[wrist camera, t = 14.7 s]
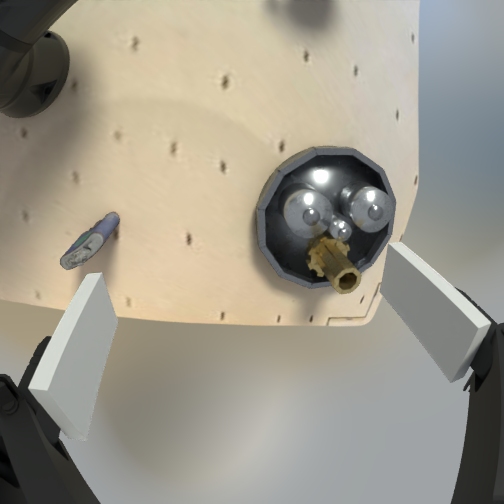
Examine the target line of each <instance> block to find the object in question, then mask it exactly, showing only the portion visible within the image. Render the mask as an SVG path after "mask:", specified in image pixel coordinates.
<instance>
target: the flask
mask: <svg viewBox="0 0 504 504" xmlns="http://www.w3.org/2000/svg"><path fill="white" fill-rule="evenodd" d="M119 220H120V218H119V215H118V214H117V213H116V212H111V213H109V214H107V215H106V216H105V217H104V218H103V219H102V220H101V221H99V222H97V223H96V224H95V225H94V227H93V228H90V230H89V231H86V232H85V233H83V234H82V235H81V236H80V237H79V238H78V239H77V241H76V242H75V243H74V244H73V245H72V246H71V247H70V248H69V250H68V251H67V252H66V253H65V254H64V255H63V256H62V257H61V259H60V265H61V266H62V267H63V268H64V269H66V270H70V269H73V268H75V267H77V266H82V265H83V263H85V262H86V261H87V260H88V259H90V258H91V257H92V256H93V255H94V254H95V253H96V252H97V251H98V250H99V249H100V248H101V247H102V246H103V244H104V243H105V241H106V240H107V238H108V237H109V235H110V234H111V233H112V231H113V230H114V229H115V227H116V226H117V225H118V223H119Z"/></svg>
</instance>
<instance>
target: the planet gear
mask: <svg viewBox="0 0 504 504" xmlns="http://www.w3.org/2000/svg"><path fill="white" fill-rule="evenodd" d="M316 237H317V240H316V241H315V242H314V243H313V244H312V245H308V247H307V249H306V252H307V253H308V254H309V255H308V259H307V260H305V261H306V263H307V266H308V267H309V269H310V270H311V269H315V271H314V272H315V273H316V275H317V276H320V277H323V275H324V274H325V276H326V277H327V279H328V280H329V282H330V283H331V285H332V286H333V288H334V289H335V290H336V291H337V292H339V293H340V294H347V293H351V292H353V291H354V290H355V289H356V288H357V287H358V286H359V284H360V281H361V273H360V272H359V271H358V270H357V268H356V267H355V266H354V265H353V264H352V263H351V261H350V260H349V259H348V258H347V251H349V250H350V248H349V245H348V244H347V243H346V242H345V241H344V242H339V241H337V240H336V239H335V238H334V237H333V236H325V235H324V234H323V233H322V234H320V235H319V236H316Z"/></svg>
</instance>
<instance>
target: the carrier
mask: <svg viewBox="0 0 504 504" xmlns="http://www.w3.org/2000/svg"><path fill="white" fill-rule="evenodd" d="M256 205H257V206H256V229H257V242H258V245H259V248H260V250H261V251H262V252H263V254H264V255H265V257H266V258H267V260H268V261H269V262H270V264H271V265H272V267H273V268H274V269H275V271H276V272H277V274H278V275H279V276H280V277H282V278H284V279H287V280H289V281H292V282H295V283H297V284H300V285H302V286H305V287H307V288H311V289H312V288H319V287H327V286H332V285H331V283H330V282H329V280H328V279H327V277H326V276H325V274H324V275H323V277H320V276H317V275H316V273H315V272H314V271H315V269H311V270H310V269H309V267H308V266H307V263H306V261H305V260H307V259H308V255H309V254H308V253H307V252H306V249H307V247H308V245H312V244H313V243H314V242H315V241H316V240H317V237H316V236H319V235H320V234H322V233H323V234H324V235H325V236H333V237H334V238H335V239H336V240H337V241H339V242H344V241H345V242H346V243H347V244H348V245H349V248H350V250H349V251H347V258H348V259H349V260H350V261H351V263H352V264H353V265H354V266H355V267H356V268H357V270H358V271H359V272H360V273H362V272H363V271H365V270H366V269H368V268H369V267H371V266H372V264H374V263H375V261H376V260H377V258H378V256H379V255H380V253H381V252H382V250H383V249H384V247H385V246H386V244H387V242H388V241H389V239H390V238H391V235H392V231H393V224H394V216H395V208H396V199H395V196H394V194H393V191H392V188H391V186H390V183H389V181H388V178H387V176H386V174H385V171H384V170H383V168H381V167H380V166H379V165H377V164H376V163H374V162H373V161H372V160H370V159H369V158H367V157H366V156H365V155H363V154H362V153H360V152H359V151H357V150H356V149H353V148H350V147H337V146H318V147H310V148H308V149H306V150H304V151H301V152H299V153H297V154H295V155H293V156H291V157H290V158H288V159H287V160H286V161H284V162H283V163H282V164H281V165H280V166H279V167H277V169H275V171H274V172H273V173H272V175H271V176H270V177H269V179H268V180H267V182H266V183H265V185H264V187H263V189H262V192H261V194H260V197H259V200H258V202H257V204H256Z"/></svg>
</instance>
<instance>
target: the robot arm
mask: <svg viewBox="0 0 504 504" xmlns="http://www.w3.org/2000/svg"><path fill="white" fill-rule="evenodd" d="M77 1H78V0H0V112H1V113H3V114H5V115H7V116H9V117H14V118H23V117H30V116H33V115H36V114H38V113H40V112H42V111H43V110H44V109H46V108H47V107H48V106H49V105H50V104H51V103H52V102H53V101H54V100H55V98H56V97H57V96H58V94H59V93H60V91H61V89H62V87H63V85H64V83H65V80H66V77H67V74H68V70H69V51H68V47H67V45H66V43H65V41H64V40H63V38H62V37H61V36H59V35H58V34H56V33H54V32H52V31H49V30H48V29H49V28H50V27H51V26H52V25H53V24H54V23H55V22H56V21H57V20H58V19H59V18H60V17H61V16H62V15H63V14H64V13H65V12H66V11H67V10H68V9H69V8H70V7H71V6H72V5H73V4H74V3H76V2H77ZM380 293H381V294H382V295H383V296H384V298H385V299H386V300H387V301H388V303H389V304H390V305H391V306H392V307H393V309H394V310H395V311H396V312H397V314H398V315H399V316H400V317H401V318H402V320H403V321H404V322H405V323H406V325H407V326H408V327H409V328H410V330H411V331H412V332H413V333H414V335H415V336H416V337H417V339H418V340H419V341H420V342H421V344H422V345H423V346H424V348H425V349H426V350H427V352H428V353H429V354H430V356H431V357H432V358H433V359H434V361H435V362H436V364H437V365H438V366H439V368H440V369H441V370H442V372H443V373H444V374H445V376H446V377H447V379H448V380H449V381H450V383H452V382H454V381H456V380H458V379H460V378H462V377H464V375H465V374H466V372H467V370H468V368H469V367H470V366H471V368H472V369H473V370H474V371H473V373H472V375H471V376H470V378H469V380H468V381H467V383H466V385H465V386H464V389H463V391H465V390H466V389H467V387H468V386H469V385H470V390H469V392H470V396H469V408H468V419H467V426H466V434H465V441H464V447H463V453H462V458H461V464H460V468H459V473H458V477H457V482H456V486H455V490H454V494H453V498H452V501H451V504H504V323H500V324H497V323H496V322H495V321H494V320H493V319H492V318H491V317H490V316H489V315H488V314H487V313H485V311H484V310H483V309H481V308H480V307H479V306H477V304H476V303H475V302H474V301H472V300H471V298H470V297H469V296H468V295H466V294H465V293H464V292H463V291H461V290H459V289H457V288H455V287H453V286H452V285H451V284H450V283H449V282H448V281H446V280H445V279H444V278H443V277H442V276H441V275H440V274H439V273H437V272H436V271H435V270H434V269H433V268H431V267H430V266H429V265H428V264H427V263H426V262H425V261H423V260H422V259H421V258H420V257H419V256H417V255H416V254H415V253H414V252H413V251H411V250H410V249H409V248H408V247H406V246H405V245H404V244H403V243H401V242H396V243H388V248H387V255H386V261H385V266H384V272H383V277H382V282H381V287H380ZM117 324H118V320H117V317H116V314H115V311H114V308H113V305H112V302H111V299H110V296H109V293H108V290H107V287H106V284H105V280H104V277H103V274H102V272H101V273H90V274H87V275H86V277H85V278H84V280H83V282H82V283H81V285H80V287H79V288H78V290H77V292H76V294H75V295H74V297H73V299H72V301H71V302H70V304H69V306H68V308H67V309H66V311H65V313H64V315H63V317H62V319H61V320H60V322H59V324H58V326H57V328H56V330H55V332H54V334H53V336H47V337H45V338H44V339H43V341H42V342H41V343H40V344H39V345H38V346H37V348H36V350H35V352H34V354H33V357H32V358H31V360H30V362H29V363H30V364H29V365H28V366H27V368H26V370H25V373H24V375H23V377H22V379H21V381H20V383H19V386H18V388H17V386H16V385H15V384H14V382H13V381H12V379H11V378H10V376H8V375H6V374H0V504H100V502H99V501H98V499H97V498H96V496H95V495H94V494H93V492H92V490H91V489H90V487H89V486H88V485H87V483H86V481H85V480H84V478H83V477H82V475H81V474H80V472H79V470H78V469H77V467H76V465H75V464H74V462H73V460H72V459H71V457H70V455H69V453H68V452H67V450H66V448H65V446H64V444H63V443H62V441H61V440H60V439H59V433H60V430H62V432H63V433H64V434H65V435H66V436H67V437H68V438H70V439H77V440H87V437H88V432H89V427H90V423H91V418H92V414H93V409H94V406H95V401H96V397H97V393H98V390H99V385H100V382H101V378H102V374H103V371H104V367H105V363H106V360H107V357H108V353H109V350H110V347H111V343H112V340H113V337H114V334H115V331H116V328H117Z"/></svg>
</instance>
